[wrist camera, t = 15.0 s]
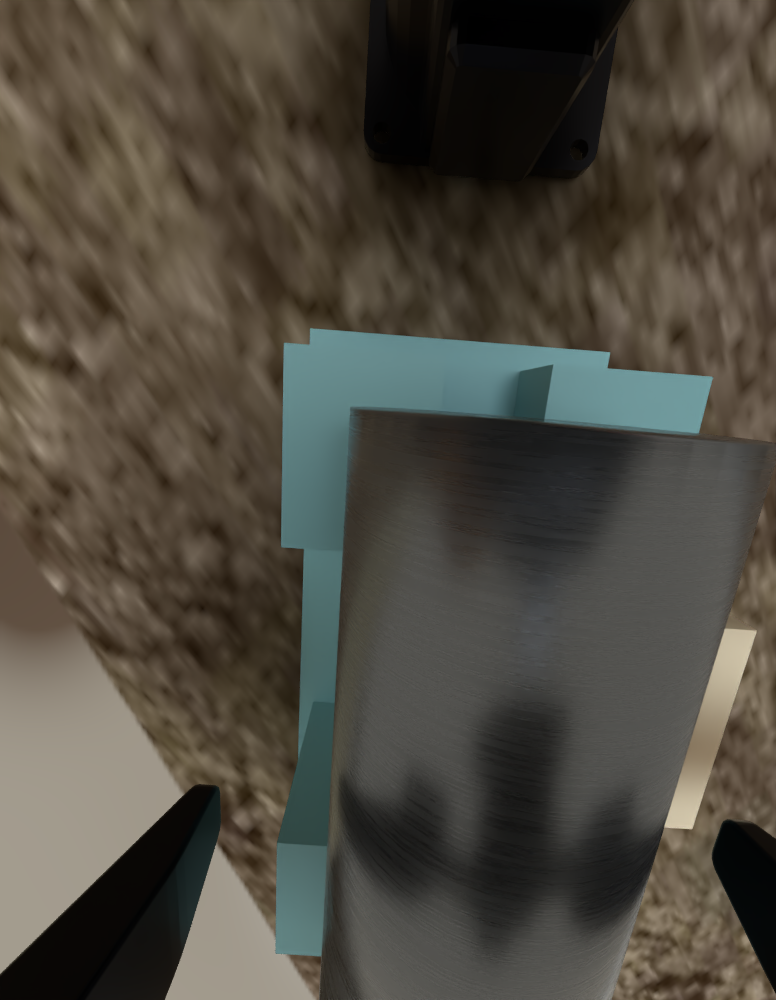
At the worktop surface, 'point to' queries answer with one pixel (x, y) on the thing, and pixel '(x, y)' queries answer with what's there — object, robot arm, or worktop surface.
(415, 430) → the grey rounded rod
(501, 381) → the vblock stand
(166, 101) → the worktop surface
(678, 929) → the worktop surface
